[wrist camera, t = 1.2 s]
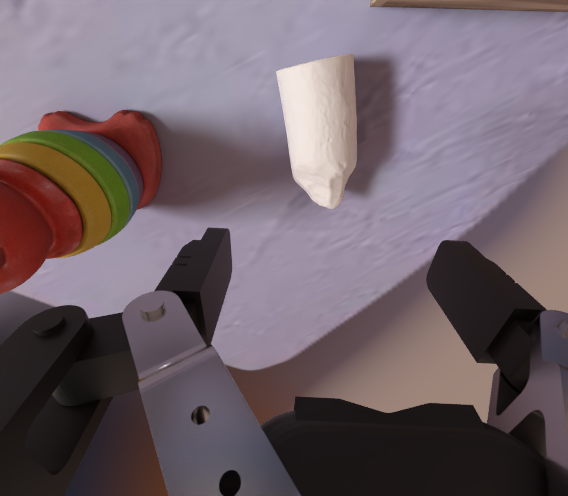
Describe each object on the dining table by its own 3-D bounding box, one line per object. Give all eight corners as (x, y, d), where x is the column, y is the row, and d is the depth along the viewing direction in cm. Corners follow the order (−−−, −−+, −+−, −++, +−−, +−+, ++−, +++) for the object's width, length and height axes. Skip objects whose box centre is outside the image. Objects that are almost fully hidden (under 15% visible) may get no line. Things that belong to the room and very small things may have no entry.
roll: (297, 200, 29) (299, 224, 24) (276, 71, 23) (273, 69, 18) (353, 191, 29) (366, 214, 24) (347, 56, 22) (362, 49, 18)
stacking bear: (151, 109, 25) (-67, 157, 10) (177, 210, 30) (63, 342, 15) (37, 111, 25) (-349, 161, 10) (83, 210, 30) (-121, 341, 15)
